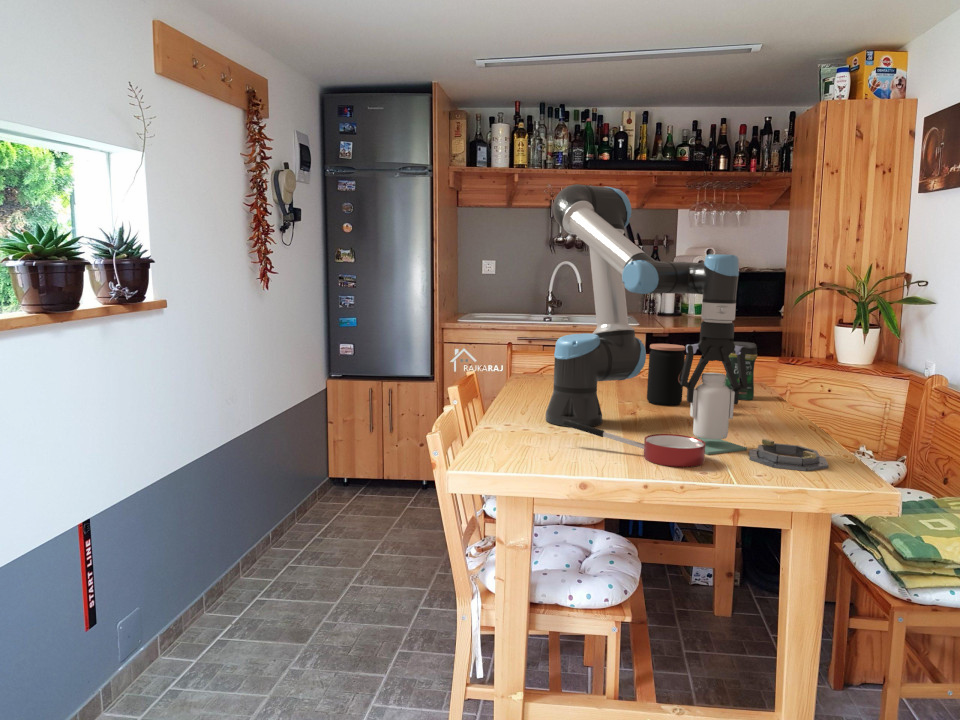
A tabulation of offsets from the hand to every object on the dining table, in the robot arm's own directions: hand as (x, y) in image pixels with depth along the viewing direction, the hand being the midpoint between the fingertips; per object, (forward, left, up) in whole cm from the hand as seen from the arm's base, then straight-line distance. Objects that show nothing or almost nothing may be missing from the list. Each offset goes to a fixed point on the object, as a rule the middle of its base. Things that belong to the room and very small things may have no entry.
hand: (711, 416), depth 174 cm
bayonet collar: (+8, -16, -7) cm, 19 cm away
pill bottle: (0, 0, -5) cm, 5 cm away
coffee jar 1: (+26, +47, -7) cm, 54 cm away
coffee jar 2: (+56, +46, -7) cm, 73 cm away
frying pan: (-23, 0, -8) cm, 24 cm away
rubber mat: (0, 0, -7) cm, 7 cm away
